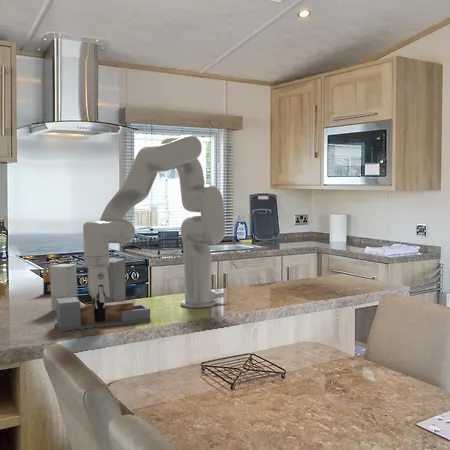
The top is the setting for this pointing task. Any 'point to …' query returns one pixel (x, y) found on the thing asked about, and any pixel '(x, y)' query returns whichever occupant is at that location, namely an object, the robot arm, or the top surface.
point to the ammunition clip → (47, 281)
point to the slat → (111, 311)
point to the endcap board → (72, 320)
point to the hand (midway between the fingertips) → (98, 319)
